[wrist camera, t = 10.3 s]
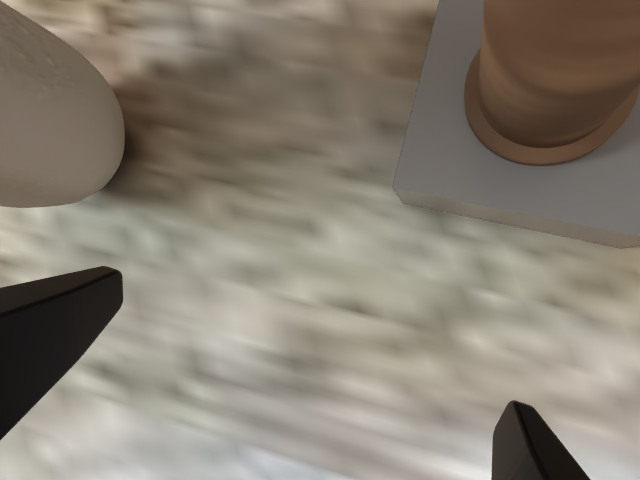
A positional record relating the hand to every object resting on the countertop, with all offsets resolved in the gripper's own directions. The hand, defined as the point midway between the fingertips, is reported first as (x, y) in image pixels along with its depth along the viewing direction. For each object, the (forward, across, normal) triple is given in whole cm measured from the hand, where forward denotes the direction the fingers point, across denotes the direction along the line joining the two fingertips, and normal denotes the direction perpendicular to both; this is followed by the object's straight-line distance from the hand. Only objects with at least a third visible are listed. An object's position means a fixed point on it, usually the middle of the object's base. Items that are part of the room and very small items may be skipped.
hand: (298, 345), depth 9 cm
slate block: (+16, -6, -4) cm, 18 cm away
